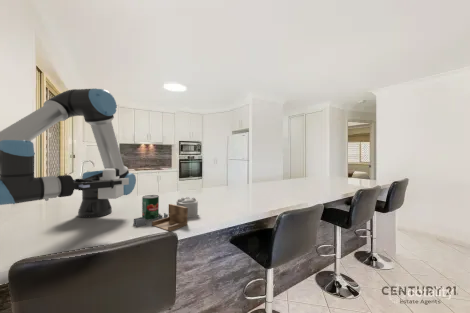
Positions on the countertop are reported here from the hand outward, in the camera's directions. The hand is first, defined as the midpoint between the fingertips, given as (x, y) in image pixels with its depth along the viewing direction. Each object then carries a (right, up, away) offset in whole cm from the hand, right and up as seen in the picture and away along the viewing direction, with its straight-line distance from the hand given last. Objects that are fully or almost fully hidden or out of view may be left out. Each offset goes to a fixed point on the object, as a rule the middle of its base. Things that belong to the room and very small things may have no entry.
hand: (121, 180), depth 93 cm
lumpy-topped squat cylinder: (+22, -21, +24) cm, 39 cm away
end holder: (+19, -21, +5) cm, 29 cm away
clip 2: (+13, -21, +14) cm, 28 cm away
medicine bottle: (-3, -7, -3) cm, 8 cm away
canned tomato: (+6, -21, +16) cm, 27 cm away
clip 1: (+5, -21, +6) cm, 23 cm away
